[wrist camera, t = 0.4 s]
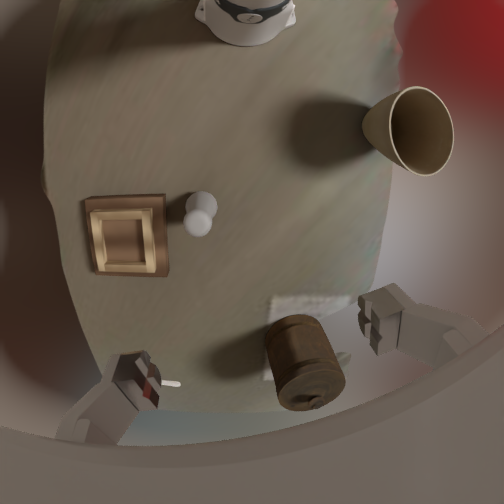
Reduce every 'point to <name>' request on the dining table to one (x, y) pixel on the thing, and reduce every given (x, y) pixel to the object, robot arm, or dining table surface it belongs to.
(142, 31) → the dining table surface
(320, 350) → the wooden container
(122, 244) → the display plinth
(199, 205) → the salt shaker
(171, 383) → the spoon
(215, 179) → the dining table surface
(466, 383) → the robot arm
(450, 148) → the plant pot
